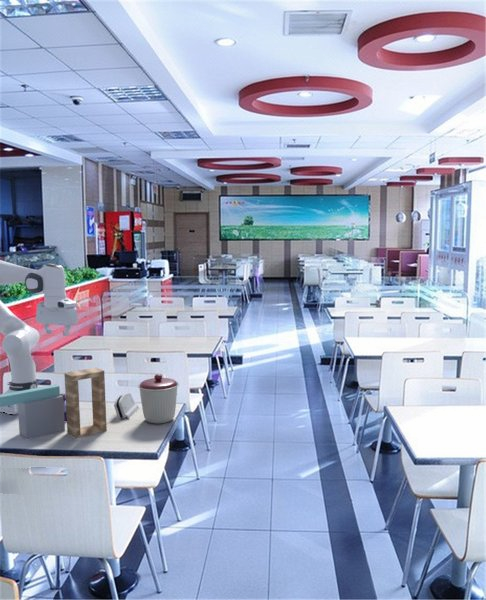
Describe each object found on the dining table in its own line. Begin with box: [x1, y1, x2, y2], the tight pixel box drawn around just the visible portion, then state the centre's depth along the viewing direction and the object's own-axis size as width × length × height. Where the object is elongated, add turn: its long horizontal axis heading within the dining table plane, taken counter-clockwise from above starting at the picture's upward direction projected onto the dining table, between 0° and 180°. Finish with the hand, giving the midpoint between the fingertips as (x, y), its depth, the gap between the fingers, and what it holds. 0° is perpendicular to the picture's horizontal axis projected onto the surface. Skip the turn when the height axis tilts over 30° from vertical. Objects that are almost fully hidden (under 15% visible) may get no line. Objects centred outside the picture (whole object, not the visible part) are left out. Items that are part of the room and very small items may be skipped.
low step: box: [17, 395, 66, 441], centre depth 232 cm, size 16×9×15 cm, turn 130°
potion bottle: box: [60, 393, 67, 422], centre depth 248 cm, size 9×9×12 cm
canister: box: [137, 373, 180, 425], centre depth 246 cm, size 18×18×21 cm
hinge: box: [113, 393, 140, 420], centre depth 257 cm, size 17×5×10 cm, turn 174°
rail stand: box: [63, 367, 108, 439], centre depth 232 cm, size 14×8×26 cm, turn 130°
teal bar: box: [0, 384, 61, 407], centre depth 228 cm, size 24×4×4 cm, turn 130°
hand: (57, 334), depth 233 cm, fingers open, 8 cm apart
